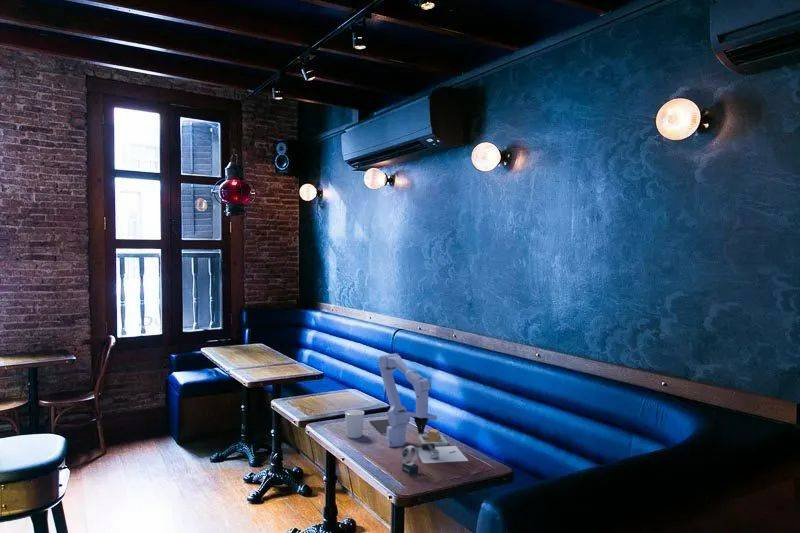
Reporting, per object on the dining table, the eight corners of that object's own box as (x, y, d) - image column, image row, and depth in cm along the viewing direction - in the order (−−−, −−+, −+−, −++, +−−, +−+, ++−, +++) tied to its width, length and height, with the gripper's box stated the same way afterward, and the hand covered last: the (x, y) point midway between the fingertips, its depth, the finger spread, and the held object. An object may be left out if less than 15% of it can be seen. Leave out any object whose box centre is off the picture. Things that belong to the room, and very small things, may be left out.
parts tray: (424, 448, 262) (424, 443, 262) (418, 440, 273) (418, 435, 273) (447, 447, 264) (447, 442, 264) (440, 439, 276) (441, 434, 276)
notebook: (369, 423, 299) (382, 436, 280) (369, 420, 299) (382, 433, 280) (391, 421, 304) (405, 433, 284) (391, 418, 304) (405, 430, 284)
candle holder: (348, 439, 271) (349, 416, 271) (341, 433, 280) (342, 410, 280) (366, 437, 276) (367, 413, 276) (359, 431, 285) (359, 408, 284)
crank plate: (423, 465, 241) (423, 463, 241) (413, 449, 260) (413, 447, 260) (468, 462, 245) (468, 460, 245) (455, 447, 264) (455, 445, 264)
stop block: (435, 444, 266) (435, 432, 266) (427, 443, 268) (428, 431, 268) (438, 442, 270) (439, 430, 270) (431, 440, 272) (431, 428, 271)
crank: (442, 458, 246) (442, 452, 246) (429, 459, 245) (429, 452, 245) (433, 447, 260) (433, 441, 260) (421, 447, 259) (421, 441, 259)
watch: (398, 471, 234) (399, 446, 233) (413, 467, 238) (414, 442, 238) (406, 476, 229) (406, 450, 229) (421, 472, 234) (421, 446, 234)
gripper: (404, 405, 253) (403, 434, 254) (434, 408, 249) (433, 438, 249) (409, 401, 260) (408, 429, 261) (438, 404, 256) (437, 433, 256)
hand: (421, 433), depth 255 cm, fingers closed
